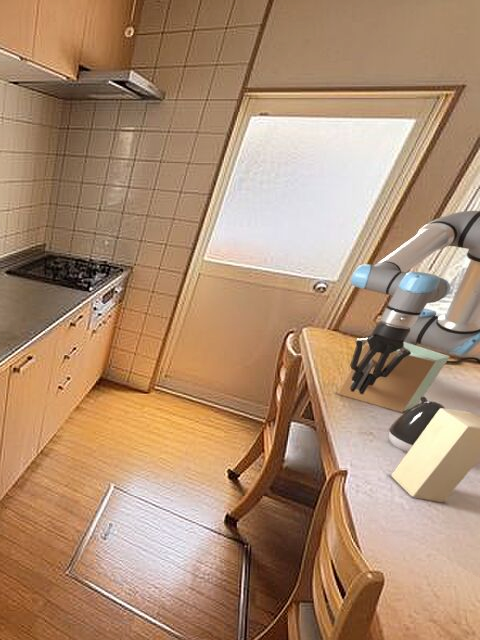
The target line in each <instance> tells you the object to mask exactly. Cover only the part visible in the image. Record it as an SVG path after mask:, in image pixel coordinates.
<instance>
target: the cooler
mask: <svg viewBox="0 0 480 640" xmlns="http://www.w3.org/2000/svg"><path fill="white" fill-rule="evenodd" d="M367 345H369V344H368V343H367ZM404 347H405V348H406V349H409V351H410V352H411V354H410V355H412V356H416V357H421V358H425V359H429V360H434V361H435V363H434V365H433V366H432V368H431V369H430V371H429V372H428V374H427V375H426V377H425V378H424V380H423V381H422V383H421V384H420V386H419V387H418V389H417V390H416V392H415V394H414V395H413V397H412V398H411V400H410V401H409V403H408V404H407V406H406V407H405V409H404V410H403V412H406V411H408V410H409V409H411V408H412V407H414V406H416V405H418V404H420V403H421V399H420V398H421V397H425V394H426V393H427V392H428V390H429V389H430V388H431V386H432V384H433V383H434V381H435V380H436V378H437V377H438V375H439V374H440V372H441V371H442V370H443V368H444V366H446V364H447V363H446V362H447V361H449V359H450V358H451V356H450V355H449V354H444V353H441V352H438V351H434V350H432V349H429V348H425V347H421V346H419V345H413V344H409V343H406V342H404ZM399 350H400V349H399ZM399 350H397V351H395V352H398V351H399Z"/></svg>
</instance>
